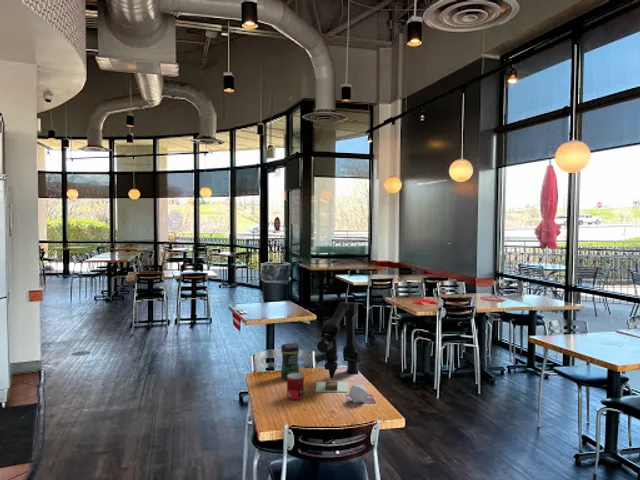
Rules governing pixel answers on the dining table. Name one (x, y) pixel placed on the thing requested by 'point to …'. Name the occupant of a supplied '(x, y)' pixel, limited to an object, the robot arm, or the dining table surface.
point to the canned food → (295, 386)
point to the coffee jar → (289, 359)
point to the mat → (321, 388)
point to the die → (358, 393)
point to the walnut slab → (331, 385)
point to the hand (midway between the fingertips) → (331, 378)
